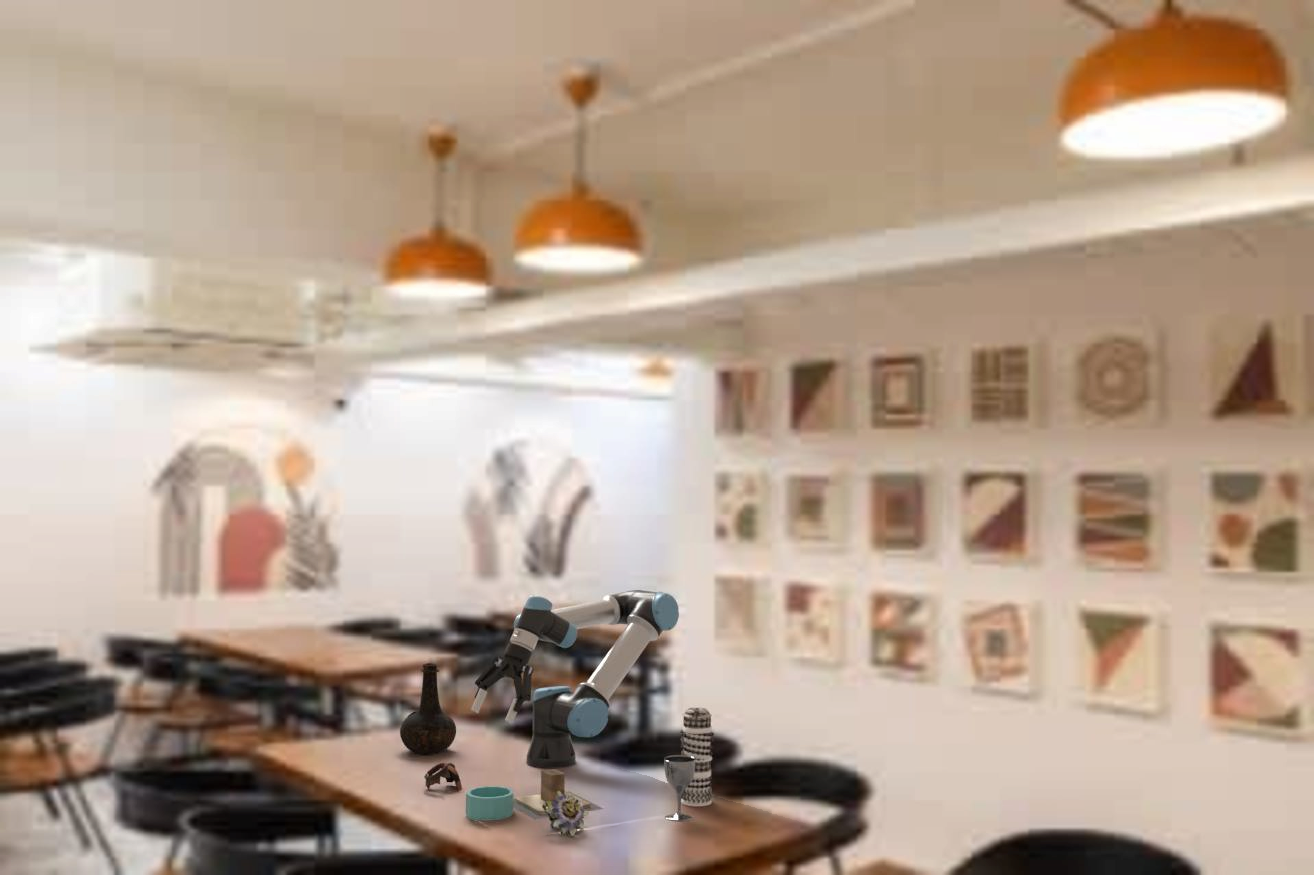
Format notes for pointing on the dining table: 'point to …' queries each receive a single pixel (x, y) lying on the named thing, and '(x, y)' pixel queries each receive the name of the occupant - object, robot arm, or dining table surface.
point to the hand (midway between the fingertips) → (491, 717)
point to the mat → (536, 816)
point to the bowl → (489, 803)
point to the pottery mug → (443, 775)
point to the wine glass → (679, 780)
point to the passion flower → (566, 813)
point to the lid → (548, 792)
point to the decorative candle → (698, 755)
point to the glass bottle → (428, 720)
